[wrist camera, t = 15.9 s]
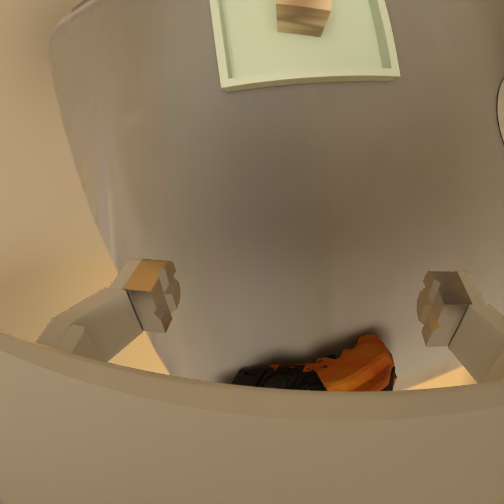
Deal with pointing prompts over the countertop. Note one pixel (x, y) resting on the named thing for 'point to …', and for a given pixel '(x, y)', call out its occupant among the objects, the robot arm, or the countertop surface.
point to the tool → (331, 371)
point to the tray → (302, 45)
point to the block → (302, 16)
